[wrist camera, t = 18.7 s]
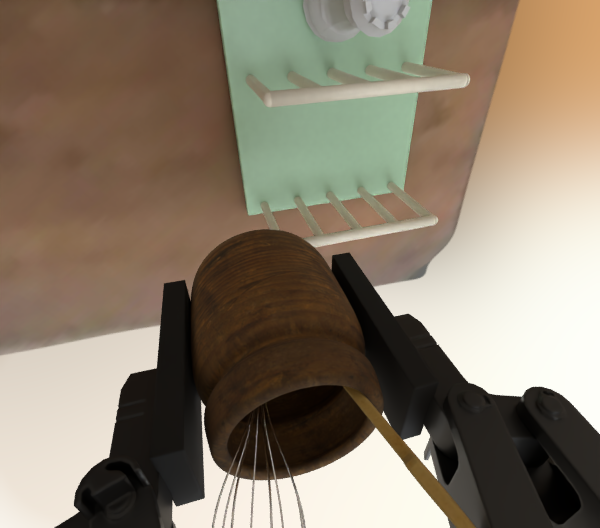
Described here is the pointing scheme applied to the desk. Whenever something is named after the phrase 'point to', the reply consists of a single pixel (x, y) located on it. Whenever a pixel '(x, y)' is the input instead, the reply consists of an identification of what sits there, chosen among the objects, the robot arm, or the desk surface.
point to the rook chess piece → (353, 17)
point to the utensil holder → (285, 367)
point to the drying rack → (325, 112)
